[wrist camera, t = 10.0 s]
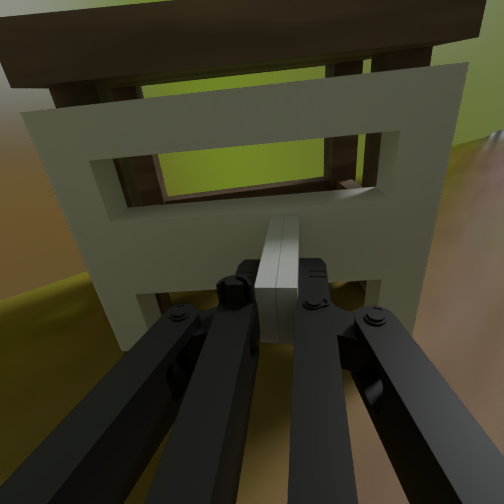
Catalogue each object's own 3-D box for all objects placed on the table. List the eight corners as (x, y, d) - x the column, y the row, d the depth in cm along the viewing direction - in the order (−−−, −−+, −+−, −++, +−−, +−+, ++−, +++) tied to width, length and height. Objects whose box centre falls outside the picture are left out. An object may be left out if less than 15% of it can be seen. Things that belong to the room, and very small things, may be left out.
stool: (418, 316, 23) (493, -32, 13) (126, 360, 22) (-19, 19, 12) (343, 232, 37) (353, 29, 27) (160, 257, 36) (103, 56, 26)
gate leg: (411, 338, 21) (469, 62, 13) (121, 351, 22) (19, 112, 15) (397, 313, 23) (439, 65, 15) (134, 327, 24) (52, 108, 17)
